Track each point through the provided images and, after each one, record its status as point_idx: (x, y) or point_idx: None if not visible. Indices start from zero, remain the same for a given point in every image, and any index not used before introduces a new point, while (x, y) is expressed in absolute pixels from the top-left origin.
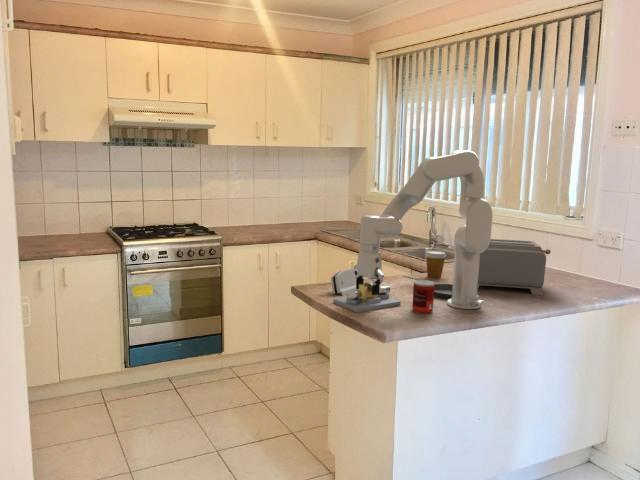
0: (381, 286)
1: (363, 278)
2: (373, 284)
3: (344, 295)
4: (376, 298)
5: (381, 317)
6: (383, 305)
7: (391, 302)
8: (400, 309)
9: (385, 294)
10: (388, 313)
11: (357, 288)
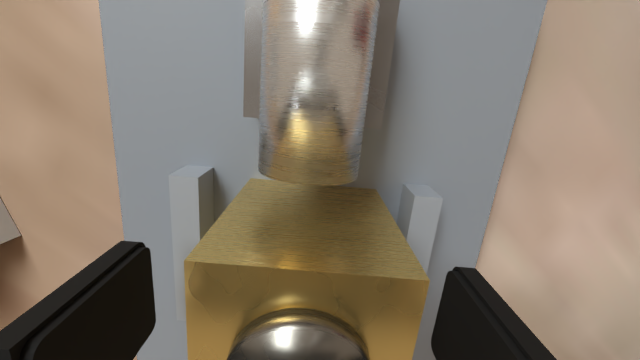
0: (303, 38)
1: (2, 348)
2: (324, 284)
3: (10, 217)
4: (418, 243)
5: (593, 354)
6: (483, 209)
7: (507, 106)
8: (598, 104)
9: (380, 45)
10: (581, 263)
11: (151, 329)
